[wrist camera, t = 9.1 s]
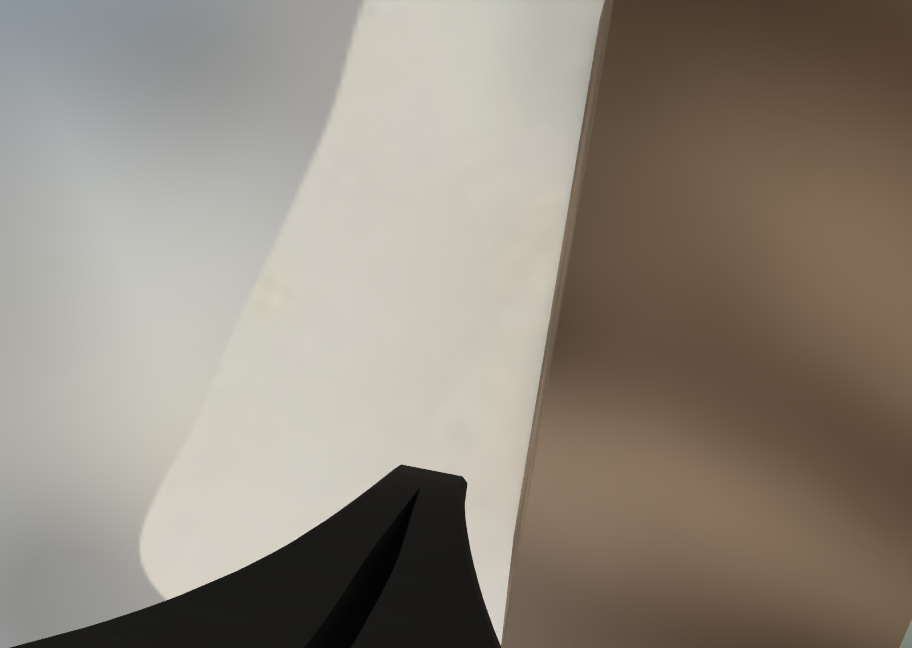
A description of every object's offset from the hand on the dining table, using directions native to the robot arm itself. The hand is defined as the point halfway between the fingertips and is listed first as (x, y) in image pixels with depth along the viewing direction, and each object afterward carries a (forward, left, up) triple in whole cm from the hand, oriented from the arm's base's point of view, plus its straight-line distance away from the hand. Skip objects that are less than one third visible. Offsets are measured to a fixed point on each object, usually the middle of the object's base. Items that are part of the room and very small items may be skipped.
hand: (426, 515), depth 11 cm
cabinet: (+2, -7, -9) cm, 12 cm away
